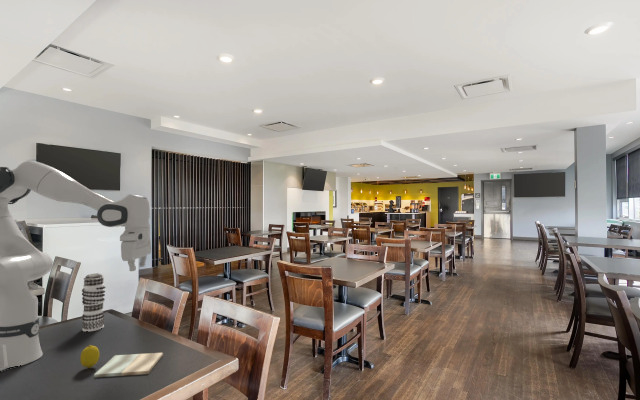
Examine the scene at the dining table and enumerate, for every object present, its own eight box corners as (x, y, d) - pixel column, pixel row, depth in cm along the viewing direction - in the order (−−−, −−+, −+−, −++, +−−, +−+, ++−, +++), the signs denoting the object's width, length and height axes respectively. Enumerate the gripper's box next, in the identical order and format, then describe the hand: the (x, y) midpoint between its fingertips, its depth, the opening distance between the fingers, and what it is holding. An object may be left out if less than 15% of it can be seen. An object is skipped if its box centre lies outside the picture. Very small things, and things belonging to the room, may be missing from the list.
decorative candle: (103, 323, 159) (104, 271, 160) (106, 328, 152) (106, 274, 153) (80, 327, 154) (81, 274, 154) (82, 333, 146) (82, 277, 147)
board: (94, 377, 108) (94, 374, 109) (115, 358, 122) (115, 355, 122) (148, 373, 111) (148, 370, 111) (162, 355, 125) (162, 352, 125)
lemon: (89, 372, 112) (89, 349, 112) (76, 371, 113) (76, 347, 113) (103, 365, 117) (103, 342, 117) (90, 363, 118) (90, 341, 118)
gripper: (139, 232, 143) (139, 264, 143) (117, 237, 123) (117, 274, 122) (155, 232, 144) (155, 263, 143) (135, 236, 123) (135, 273, 123)
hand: (137, 268), depth 133 cm, fingers open, 8 cm apart
